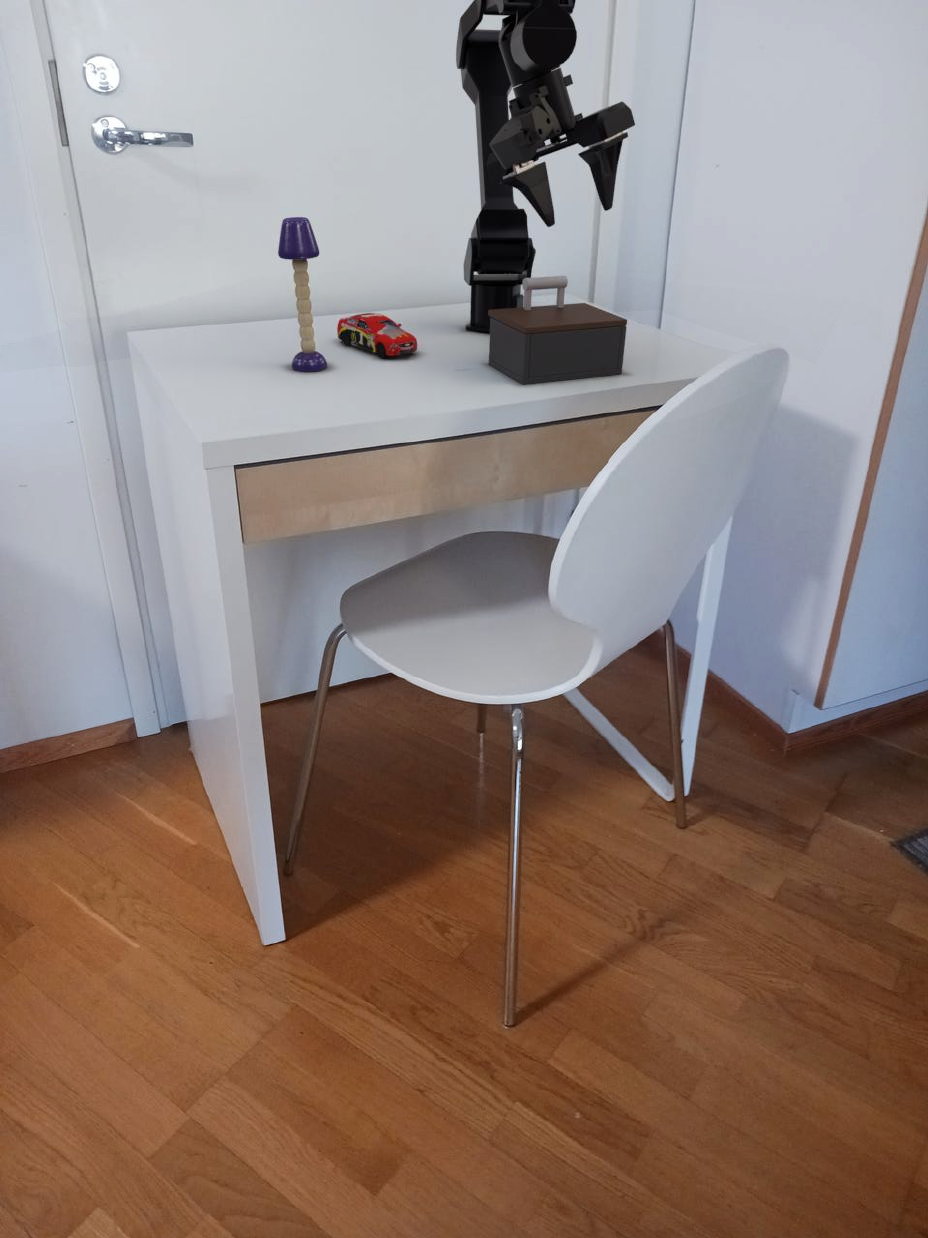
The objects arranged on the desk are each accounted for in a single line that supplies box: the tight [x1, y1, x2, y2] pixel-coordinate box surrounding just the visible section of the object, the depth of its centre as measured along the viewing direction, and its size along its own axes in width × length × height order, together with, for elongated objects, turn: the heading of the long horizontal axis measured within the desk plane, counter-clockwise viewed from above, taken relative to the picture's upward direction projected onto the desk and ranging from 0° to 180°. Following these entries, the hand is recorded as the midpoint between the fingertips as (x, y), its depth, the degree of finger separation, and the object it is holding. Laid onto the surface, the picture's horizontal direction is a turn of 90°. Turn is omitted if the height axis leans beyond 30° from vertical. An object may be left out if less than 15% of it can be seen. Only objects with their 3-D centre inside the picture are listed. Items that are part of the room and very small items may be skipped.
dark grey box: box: [488, 317, 627, 385], centre depth 115 cm, size 9×13×6 cm
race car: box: [336, 312, 418, 359], centre depth 122 cm, size 13×5×4 cm, turn 39°
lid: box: [488, 275, 628, 334], centre depth 112 cm, size 10×13×4 cm
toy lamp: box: [277, 216, 328, 373], centre depth 110 cm, size 5×5×17 cm
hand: (579, 217), depth 114 cm, fingers open, 9 cm apart
